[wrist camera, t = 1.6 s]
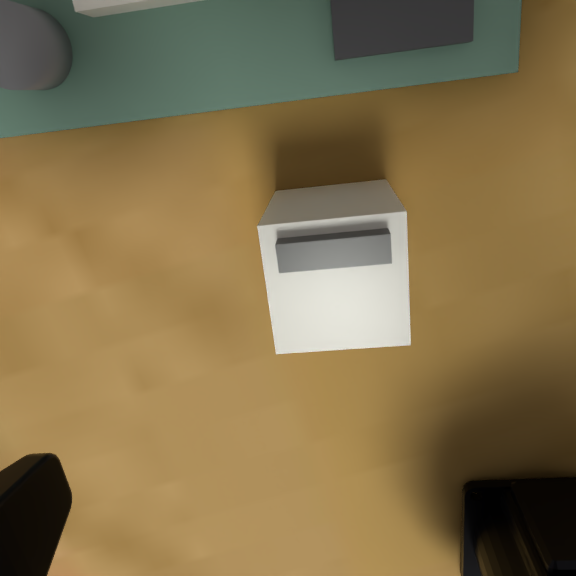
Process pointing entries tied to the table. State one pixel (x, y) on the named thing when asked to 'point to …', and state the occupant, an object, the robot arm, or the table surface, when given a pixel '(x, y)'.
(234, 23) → the board
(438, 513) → the table surface
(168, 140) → the table surface
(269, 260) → the plug
